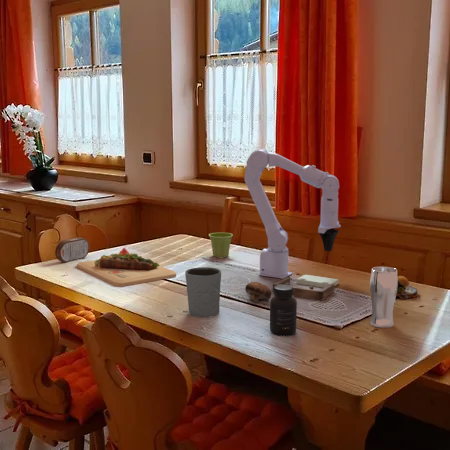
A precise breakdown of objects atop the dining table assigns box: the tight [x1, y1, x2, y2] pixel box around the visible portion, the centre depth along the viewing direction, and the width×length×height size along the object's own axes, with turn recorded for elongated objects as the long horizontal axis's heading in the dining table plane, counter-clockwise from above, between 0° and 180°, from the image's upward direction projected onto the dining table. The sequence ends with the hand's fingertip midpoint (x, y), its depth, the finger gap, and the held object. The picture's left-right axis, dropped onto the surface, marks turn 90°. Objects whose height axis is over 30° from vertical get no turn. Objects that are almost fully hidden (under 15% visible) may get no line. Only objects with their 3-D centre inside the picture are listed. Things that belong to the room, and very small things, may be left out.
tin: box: [54, 236, 90, 263], centre depth 233 cm, size 15×3×8 cm, turn 144°
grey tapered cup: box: [185, 266, 222, 318], centre depth 170 cm, size 10×10×12 cm
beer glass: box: [369, 266, 398, 329], centre depth 160 cm, size 7×7×15 cm
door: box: [295, 274, 339, 289], centre depth 201 cm, size 12×7×2 cm, turn 59°
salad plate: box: [396, 273, 418, 300], centre depth 189 cm, size 12×12×8 cm
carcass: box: [272, 276, 335, 301], centre depth 191 cm, size 16×10×3 cm, turn 59°
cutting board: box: [76, 247, 177, 287], centre depth 216 cm, size 35×23×8 cm
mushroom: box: [244, 281, 272, 303], centre depth 182 cm, size 8×8×6 cm
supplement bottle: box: [269, 284, 298, 337], centre depth 154 cm, size 7×7×12 cm
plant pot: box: [208, 232, 234, 259], centre depth 240 cm, size 9×9×9 cm
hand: (328, 250), depth 207 cm, fingers closed
